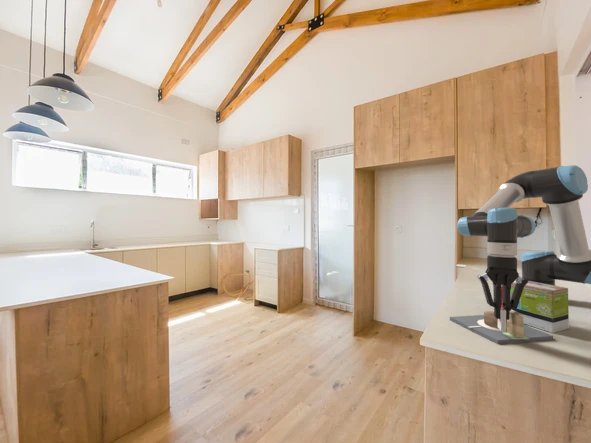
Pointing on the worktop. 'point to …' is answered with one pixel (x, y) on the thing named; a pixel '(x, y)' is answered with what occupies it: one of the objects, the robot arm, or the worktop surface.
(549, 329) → the tea box
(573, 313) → the worktop surface
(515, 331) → the dial
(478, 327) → the tuner board
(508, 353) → the worktop surface
